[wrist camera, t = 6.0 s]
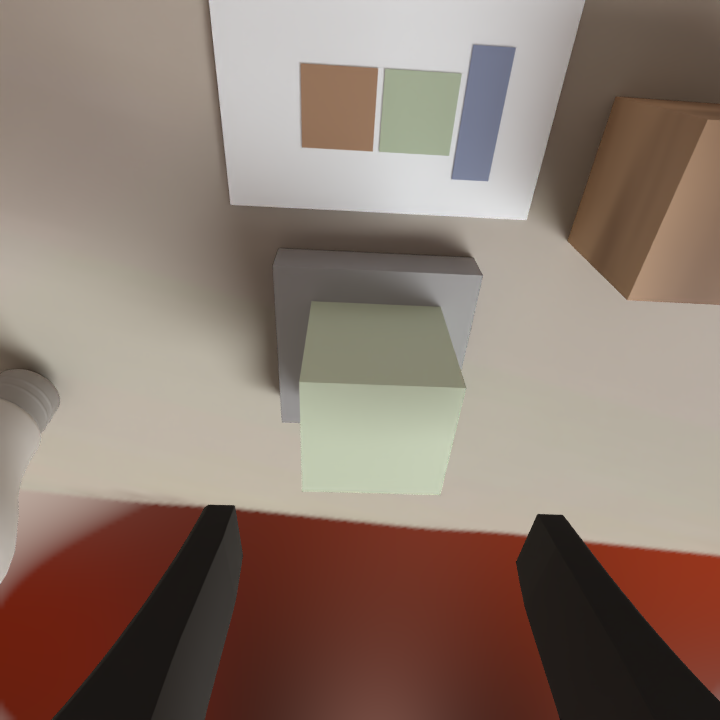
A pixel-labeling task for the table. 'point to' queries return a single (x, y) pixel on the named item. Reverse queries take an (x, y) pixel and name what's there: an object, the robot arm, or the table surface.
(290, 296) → the slab
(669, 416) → the table surface
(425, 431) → the block
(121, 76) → the table surface
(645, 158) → the block
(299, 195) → the blueprint sheet
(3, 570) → the lightbulb
